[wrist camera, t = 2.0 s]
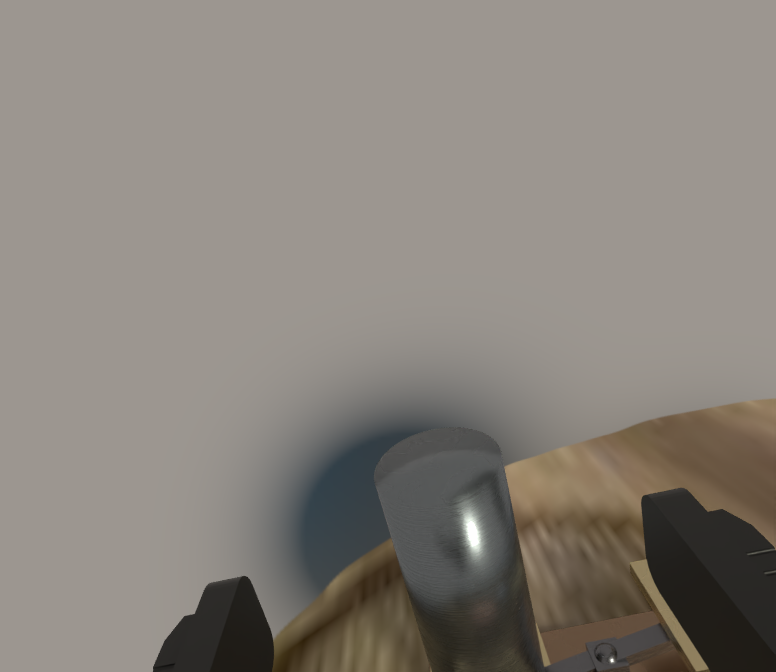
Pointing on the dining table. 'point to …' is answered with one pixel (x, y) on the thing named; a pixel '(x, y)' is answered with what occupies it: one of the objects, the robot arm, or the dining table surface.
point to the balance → (624, 640)
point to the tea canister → (459, 551)
